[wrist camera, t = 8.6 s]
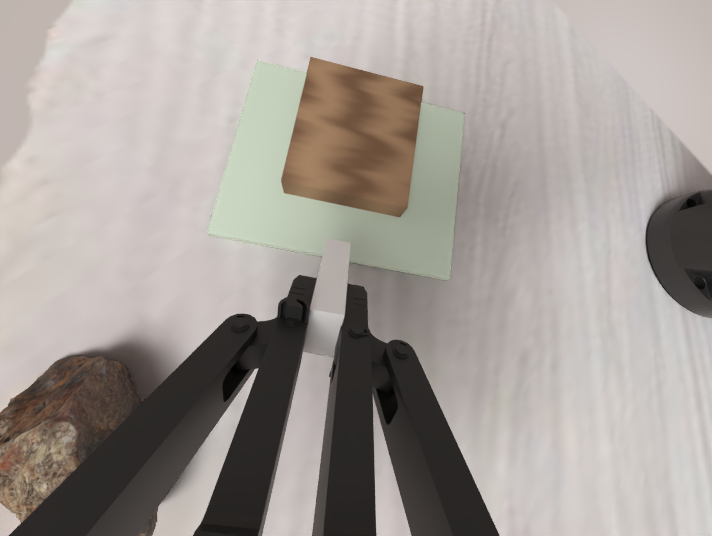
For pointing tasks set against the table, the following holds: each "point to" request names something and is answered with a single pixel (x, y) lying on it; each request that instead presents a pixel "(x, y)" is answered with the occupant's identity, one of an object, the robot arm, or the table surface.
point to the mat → (327, 220)
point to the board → (353, 139)
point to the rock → (61, 428)
